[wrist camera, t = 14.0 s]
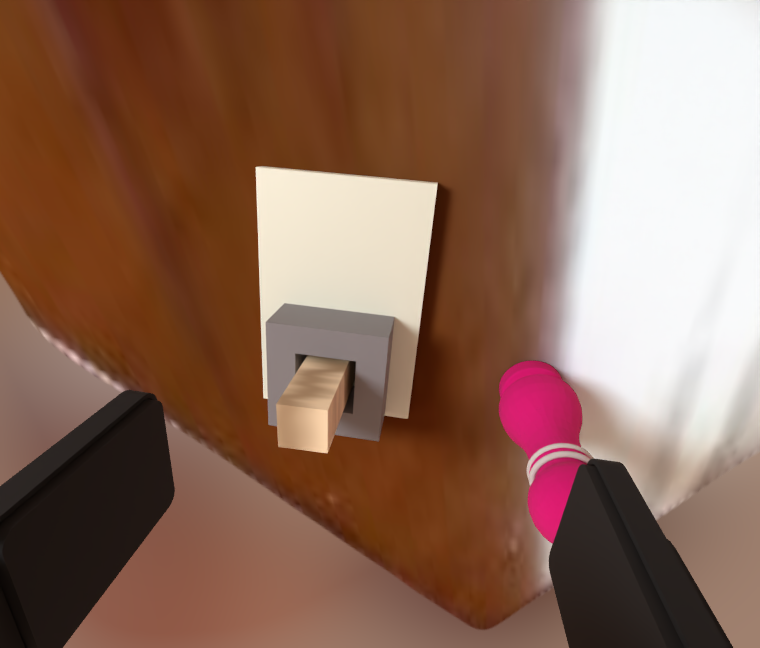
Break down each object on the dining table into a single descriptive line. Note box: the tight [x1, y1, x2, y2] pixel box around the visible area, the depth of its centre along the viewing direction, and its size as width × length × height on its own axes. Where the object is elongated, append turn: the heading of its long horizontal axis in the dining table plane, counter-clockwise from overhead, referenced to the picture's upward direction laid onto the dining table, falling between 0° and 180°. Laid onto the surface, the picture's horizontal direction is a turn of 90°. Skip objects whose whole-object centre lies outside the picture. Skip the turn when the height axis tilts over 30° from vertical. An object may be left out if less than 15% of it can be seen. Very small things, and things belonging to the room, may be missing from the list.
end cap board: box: [256, 166, 438, 441], centre depth 40 cm, size 16×24×6 cm, turn 176°
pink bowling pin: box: [499, 361, 593, 544], centre depth 35 cm, size 7×7×20 cm
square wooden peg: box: [276, 355, 356, 453], centre depth 38 cm, size 4×4×12 cm
